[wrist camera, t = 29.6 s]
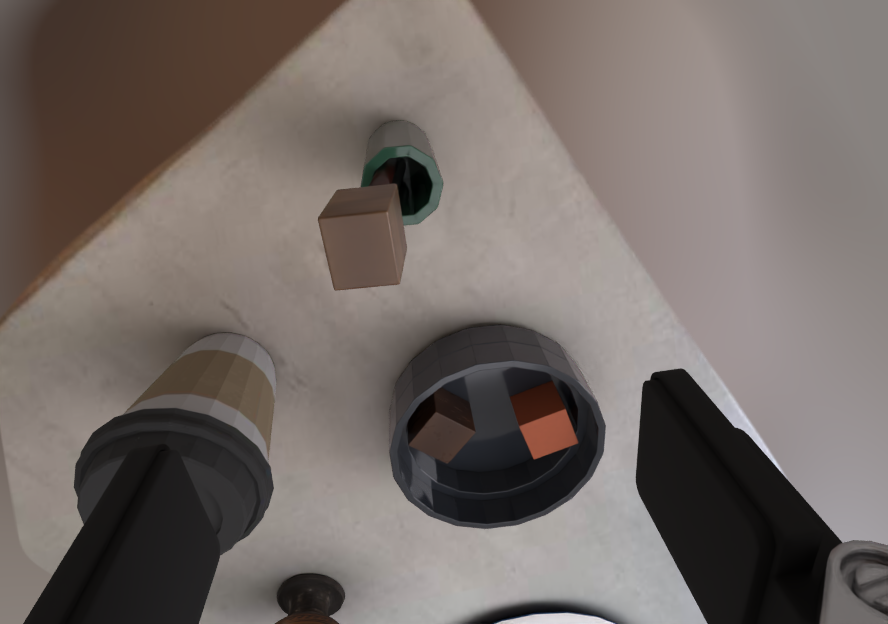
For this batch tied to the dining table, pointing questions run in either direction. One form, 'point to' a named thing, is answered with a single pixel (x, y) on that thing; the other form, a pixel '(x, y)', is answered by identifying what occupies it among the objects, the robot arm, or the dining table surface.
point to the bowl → (494, 429)
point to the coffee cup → (199, 432)
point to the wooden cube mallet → (366, 231)
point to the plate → (555, 619)
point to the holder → (407, 167)
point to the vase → (310, 599)
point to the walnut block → (441, 425)
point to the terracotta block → (543, 420)
